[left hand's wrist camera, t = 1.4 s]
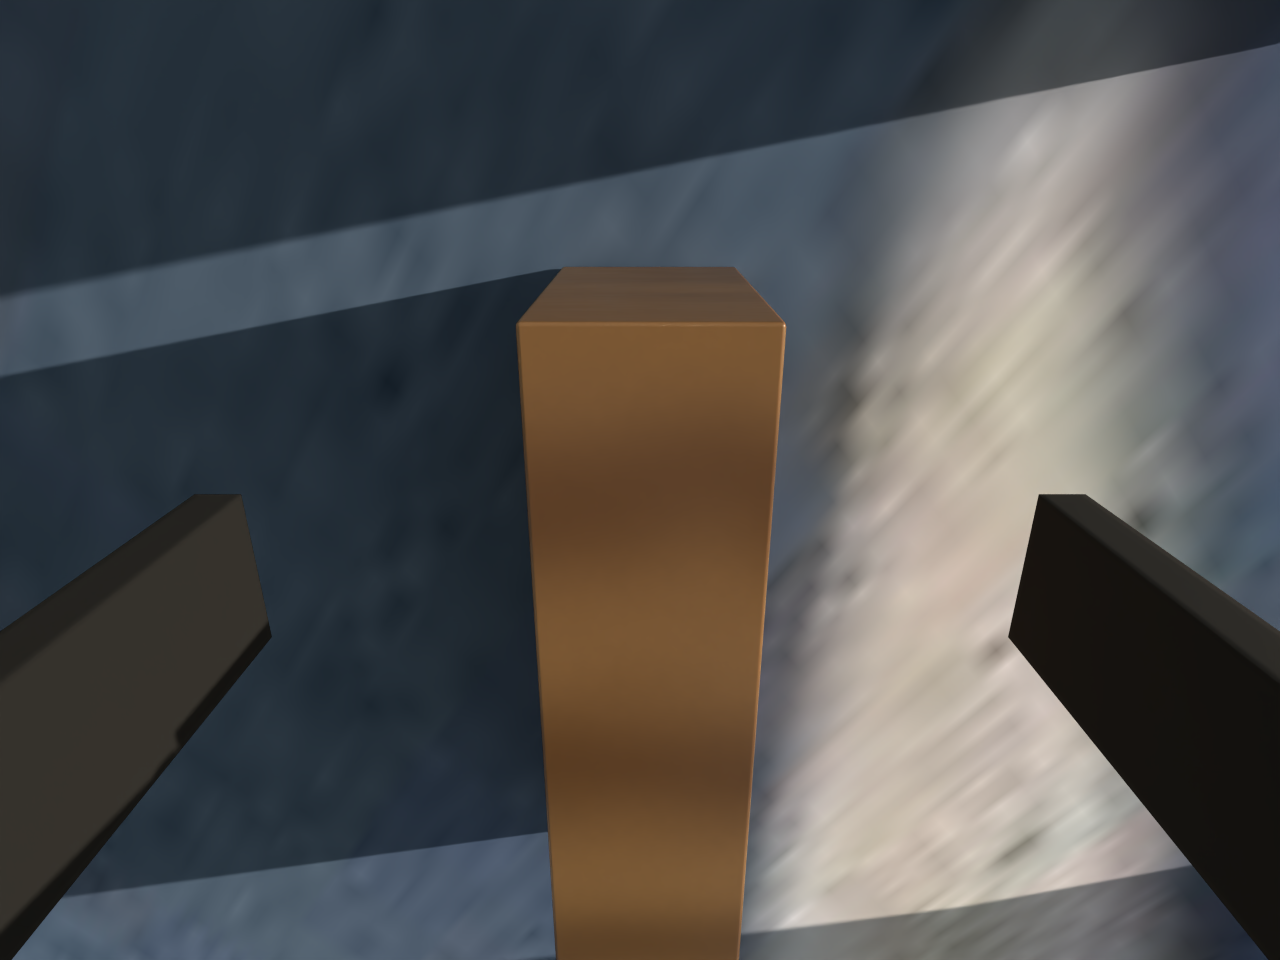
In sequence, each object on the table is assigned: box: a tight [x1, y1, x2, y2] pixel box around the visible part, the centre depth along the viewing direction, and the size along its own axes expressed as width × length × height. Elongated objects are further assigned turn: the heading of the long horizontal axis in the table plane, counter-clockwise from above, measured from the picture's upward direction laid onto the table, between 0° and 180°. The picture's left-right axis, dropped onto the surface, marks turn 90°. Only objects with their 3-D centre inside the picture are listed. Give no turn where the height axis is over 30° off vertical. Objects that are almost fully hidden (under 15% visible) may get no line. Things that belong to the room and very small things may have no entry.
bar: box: [516, 267, 786, 960], centre depth 22 cm, size 22×5×9 cm, turn 0°
